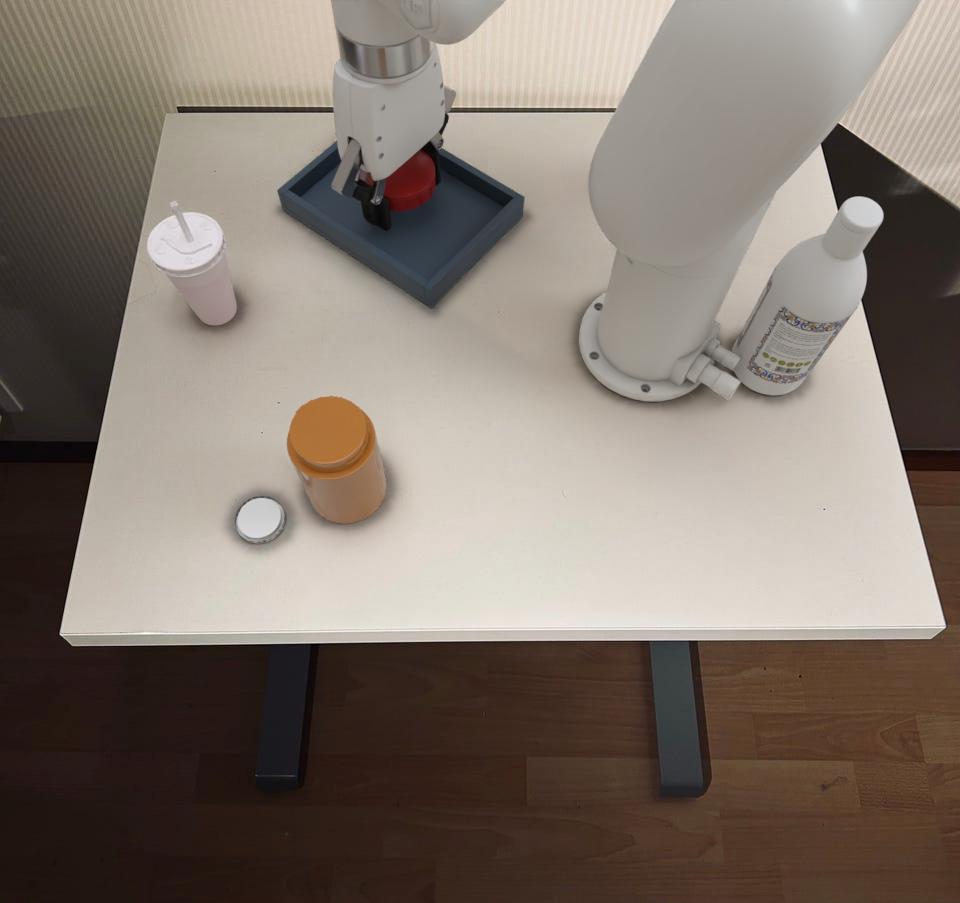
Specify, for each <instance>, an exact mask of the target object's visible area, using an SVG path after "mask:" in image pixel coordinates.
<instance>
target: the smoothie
mask: <svg viewBox="0 0 960 903" xmlns="http://www.w3.org/2000/svg"><path fill="white" fill-rule="evenodd" d="M169 205H170V207H171V210H172V212H173V213H174V214H173V215H171V216H168V217H166V218H165V219H163V220H161V221H160V222H159V223H157V224H156V225H155V227H154V228H152V230H151V231H150V233H149V235H148V238H147V240H146V242H147V243H146V250H147V254H148V256H149V257H150V260H151V263H152V265H153V266H154V267H155V268H156V269H157V271H159V272H161V273H162V274H164V275H165V276H166V278H167V279H168V280H169V281H170V282H171V283H172V285H173V286H174V288H175V289H176V290H177V292H179V294H180V295H181V296H182V298H183V299H184V301H186V303H187V305H188V306H189V307H190V309H192V311H193V313H195V315H196V316H197V317H198V318H199V320H200V321H201V322H202V323H203V324H205V325H208V326H214V327H215V326H222V325H225V324H227V323H228V322H230V321H231V320H233V319H234V317H235V315H236V314H237V311H238V305H237V300H236V295H235V291H234V286H233V281H232V277H231V272H230V268H229V264H228V259H227V254H226V249H227V238H226V235H225V234H224V231H223V230H222V227H221V226H220V224H219V223H218V222H217V221H216V220H215V219H214V218H213V217H211V216H209V215H207V214H205V213H202V212H195V211H189V212H188V211H187V212H182V210H181V208H180V205H179V203H178V201H176V200H173V201H171V202H170V204H169Z"/></svg>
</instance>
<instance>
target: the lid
mask: <svg viewBox="0 0 960 903" xmlns="http://www.w3.org/2000/svg"><path fill="white" fill-rule="evenodd" d="M366 183H368V184H370V185H371V186H373V183H374V180H373V179H372V176H371V175H370V174H367V179H366ZM435 187H436V176H435V166H434V163H433V160H432V159H431V157H430V156H429V155H428V154H427V153H426V152H425V151H423V150H422V149H420V150H419V151H417V152H416V153H415V154H414V155H413V156H412V157H411V158H410V159H408V160H407V161H406V162H405V163H404V164H403V165H402V166H400V167H399V168H398V169H397V170H396V171H395V172H393V173H392V174H391V175H389V176H388V177H387V181H386V185H385V190H384V195H383V196H385V197H386V198H387V199H388V201H389V208H390V211H407V210H412V209H415V208H417V207H419V206H421V205H423V204H424V203H426V202H427V201H428V200H429V199H430V198H431V197H432V195H433V193H434V190H435Z"/></svg>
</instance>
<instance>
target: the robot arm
mask: <svg viewBox="0 0 960 903" xmlns="http://www.w3.org/2000/svg"><path fill="white" fill-rule="evenodd" d="M506 1H507V0H330V4H331V10H332V16H333V23H334V29H335V34H336V40H337V46H338V47H337V48H338V52H339V59H338V60H337V61H336V63H335V64H334V66H333V76H332V109H333V110H332V111H333V121H334V130H335V137H336V141H337V145H338V151H339V155H340V158H341V160H342V161H341V163H340V166H339V168H338V170H337V172H336V175H335V177H334V179H333V182H332V184H331V187H332V189H334V190H335V191H337V192H338V193H340V194H342V195H343V196H347V197H350V198H355V199H357V200H359V201H361V205H362V211H363V216H364V218H365V220H366V221H367V222H369V223H370V224H372V225H377V226H379V227H380V228H382V229H383V230H385V231H388V230H389V229H390V228H391V225H392V223H391V216H390V208H389V201H388V199H387V198H386V197H385V196H383V195H384V190H385V185H386V181H387V177H388V176H389V175H391V174H392V173H393V172H395V171H396V170H397V169H398V168H399V167H400V166H402V165H403V164H404V163H405V162H406V161H407V160H408V159H410V158H411V157H412V156H413V155H414V154H415V153H416V152H417V151H419V150H420V149H422V150H423V151H425V152H426V153H427V154H428V155H429V156H430V157H431V159H432V160H433V163H434V166H435V176H436V185H438V184H439V183H440V182H441V171H440V153H439V152H438V150H440V149H441V148H443V146H444V143H445V140H444V138H443V134H444V131H445V129H446V127H447V125H448V123H449V119H450V115H449V113H450V112H451V110H452V107H453V105H454V102H455V100H456V96H457V91H455V90H454V89H452V88H451V87H449V86H447V85H445V83H444V76H443V70H442V64H441V63H442V62H441V57H440V54H439V49H438V45H444V46H446V45H449V46H451V45H455V44H458V43H460V42H462V41H464V40H466V39H468V38H469V37H470V36H471V35H472V34H474V33H475V32H476V31H477V30H478V29H479V28H480V27H481V26H482V25H483V24H484V23H485V22H486V21H487V20H488V19H489V18H490V17H491V16H492V15H493V14H494V13H495V12H496V11H498V10H499V9H500V7H502V5H503V4H504V3H505V2H506ZM921 1H922V0H675V1H674V2H673V4H672V5H671V7H670V9H669V10H668V12H667V13H666V14H665V17H664V18H663V21H662V22H661V24H660V26H659V27H658V29H657V31H656V33H655V35H654V37H653V38H652V40H651V42H650V44H649V46H648V48H647V50H646V52H645V54H644V56H643V58H642V59H641V61H640V63H639V65H638V67H637V69H636V71H635V72H634V74H633V77H632V78H631V80H630V82H629V84H628V86H627V88H626V89H625V91H624V94H623V95H622V97H621V99H620V101H619V103H618V105H617V106H616V109H615V110H614V112H613V114H612V116H611V118H610V120H609V121H608V124H607V125H606V128H605V129H604V131H603V133H602V135H601V137H600V139H599V141H598V143H597V145H596V147H595V149H594V152H593V155H592V157H591V162H590V166H589V171H588V196H589V202H590V206H591V211H592V213H593V216H594V219H595V221H596V223H597V226H598V227H599V229H600V230H601V232H602V234H603V235H604V236H605V238H606V239H607V240H608V242H610V244H611V245H612V246H614V247H615V249H616V251H615V255H614V258H613V263H612V267H611V271H610V275H609V279H608V283H607V287H606V291H605V292H603V293H601V294H600V295H599V296H598V297H596V298H595V299H594V300H593V301H592V302H591V304H590V305H588V307H587V308H586V310H585V312H584V315H583V317H582V319H581V323H580V325H579V332H578V334H579V335H578V346H579V352H580V355H581V357H582V361H583V363H584V364H585V366H586V367H587V369H588V371H589V372H590V373H591V374H592V375H593V377H595V379H596V380H597V381H598V382H599V383H601V384H602V385H603V386H604V387H606V388H607V389H608V390H610V391H612V392H614V393H616V394H617V395H620V396H622V397H625V398H628V399H631V400H635V401H641V402H664V401H665V402H666V401H670V400H674V399H678V398H680V397H683V396H685V395H687V394H689V393H690V392H692V391H693V390H695V389H696V388H698V387H699V386H700V385H701V384H704V386H706V387H708V388H710V389H711V391H713V392H714V393H716V394H718V395H719V396H721V397H722V398H724V399H726V400H727V401H729V400H730V399H731V398H732V397H733V395H734V394H735V392H736V391H737V390H738V388H739V386H740V385H741V383H742V382H741V381H740V380H739V379H738V378H737V377H735V376H733V375H731V374H730V373H729V372H727V371H725V370H721V369H720V368H718V367H716V366H715V365H714V363H715V361H717V362H718V363H720V365H722V366H724V368H727V369H728V370H730V371H732V372H734V369H735V368H736V366H737V365H738V363H739V362H740V360H741V357H740V356H738V355H736V354H735V353H733V352H732V350H728V349H727V348H725V347H723V346H721V345H720V343H721V341H720V340H718V339H717V335H718V333H719V331H720V330H721V327H722V324H721V323H720V322H719V321H717V320H716V318H717V316H718V315H719V311H720V309H721V308H722V305H723V303H724V301H725V299H726V297H727V295H728V293H729V290H730V289H731V287H732V284H733V282H734V280H735V277H736V275H737V274H738V271H739V269H740V267H741V264H742V262H743V261H744V258H745V256H746V255H747V253H748V251H749V249H750V246H751V245H752V242H753V241H754V238H755V236H756V234H757V232H758V230H759V228H760V226H761V224H762V222H763V220H764V218H765V216H766V214H767V212H768V210H769V208H770V205H771V204H772V201H773V200H774V198H775V196H776V194H777V192H778V191H779V190H780V189H781V188H782V187H783V185H785V183H786V182H787V181H788V180H789V179H790V178H791V177H792V176H793V175H794V174H795V173H796V171H797V170H798V169H800V167H801V166H802V165H803V164H804V163H805V162H806V161H807V160H808V158H809V157H810V156H812V154H813V153H814V152H815V151H816V149H818V147H819V146H820V145H821V144H822V143H823V142H824V141H825V140H826V139H827V137H828V136H829V135H830V133H831V132H832V131H833V130H834V129H835V127H837V125H838V124H839V122H841V120H842V119H843V117H844V116H845V115H846V114H847V112H848V111H849V110H850V109H851V107H852V106H853V105H854V103H855V102H856V101H857V99H858V98H859V96H860V95H861V94H862V92H863V91H864V89H866V86H867V85H868V84H869V82H870V81H871V79H872V78H873V77H874V75H875V74H876V72H877V70H878V69H879V67H880V66H881V64H882V62H883V61H884V60H885V58H886V57H887V55H888V54H889V53H890V51H891V49H892V47H893V46H894V45H895V43H896V41H897V40H898V39H899V37H900V35H901V33H902V32H903V31H904V29H905V27H906V26H907V24H908V23H909V21H910V20H911V18H912V16H913V15H914V13H915V11H916V10H917V8H918V6H919V5H920V3H921ZM367 174H370V175H371V176H372V179H373V180H374V183H373V186H371V185H370V184H368V183H366V179H367Z"/></svg>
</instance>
